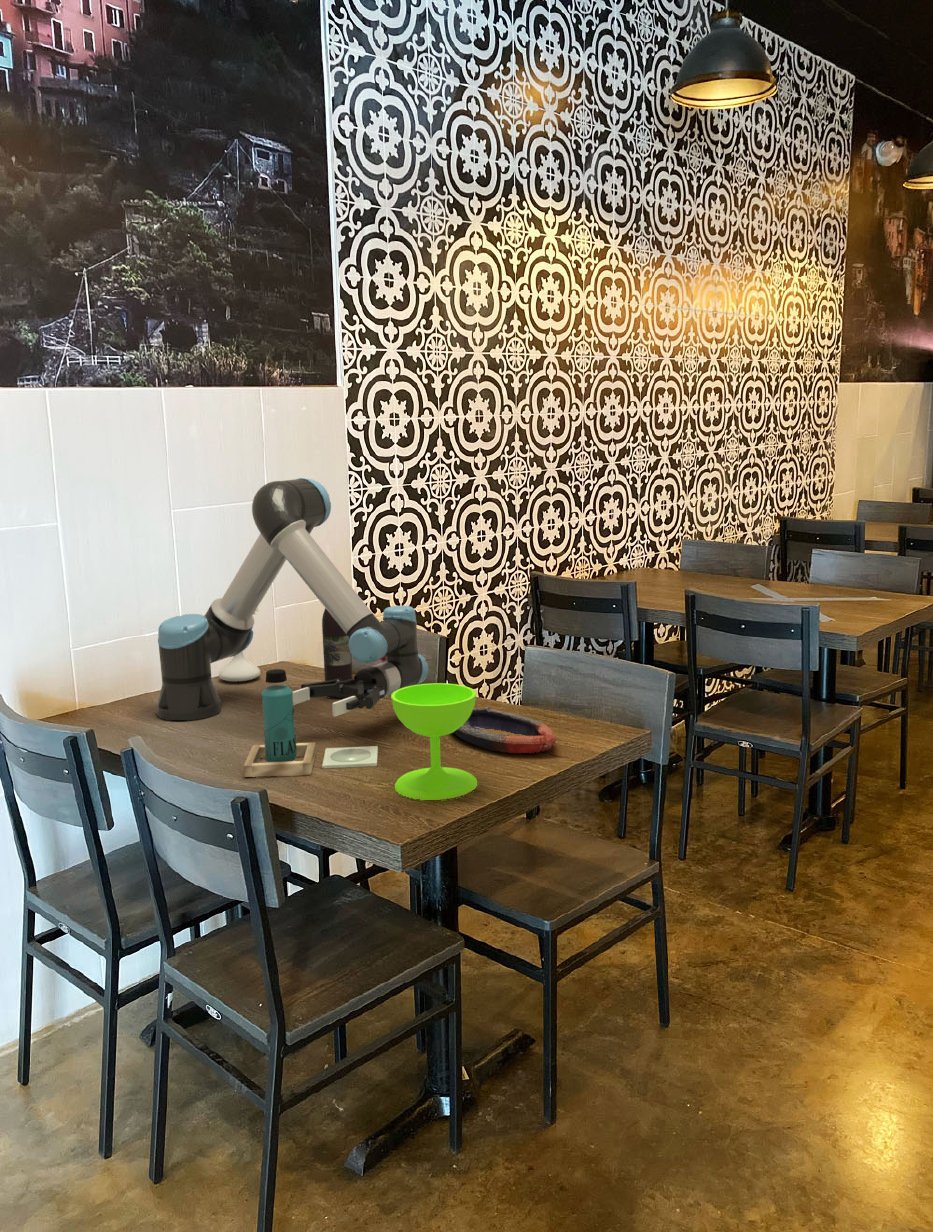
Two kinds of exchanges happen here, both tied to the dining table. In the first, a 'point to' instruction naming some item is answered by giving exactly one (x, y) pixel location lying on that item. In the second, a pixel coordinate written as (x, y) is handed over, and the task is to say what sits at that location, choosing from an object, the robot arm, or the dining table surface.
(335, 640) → the wine bottle
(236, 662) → the flower in vase
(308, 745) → the square wooden frame
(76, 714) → the dining table surface
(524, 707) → the dining table surface
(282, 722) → the beverage bottle
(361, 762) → the coaster
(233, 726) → the dining table surface
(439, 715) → the wineglass
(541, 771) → the dining table surface
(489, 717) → the dish
